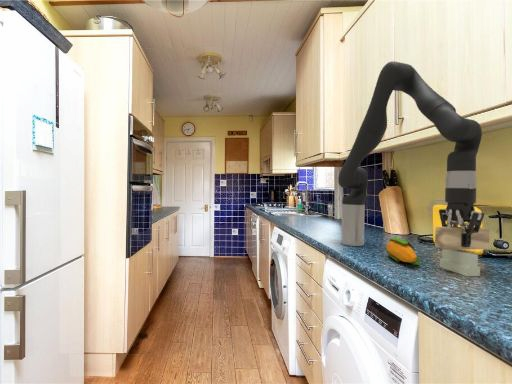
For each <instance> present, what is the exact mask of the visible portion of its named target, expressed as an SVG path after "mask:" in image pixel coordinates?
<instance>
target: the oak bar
mask: <svg viewBox="0 0 512 384" xmlns="http://www.w3.org/2000/svg"><path fill="white" fill-rule="evenodd" d="M466 229H467V226H466ZM434 230H435V231H434V233H435V235H434V236H435V237H434V247H435V248H438V249H441V250H442V249H444V250H461V251H465V250H489V249H490V228H487V227H481V226H480V229H479V232H478V233H472V234H471V245H470V247H462V246H461V236H462V234H463V233H462V230H461V226H458V227H442V226H435V228H434Z"/></svg>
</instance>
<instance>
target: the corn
mask: <svg viewBox="0 0 512 384" xmlns="http://www.w3.org/2000/svg"><path fill="white" fill-rule="evenodd" d="M385 247H386V253H387V254H388V255H389V257H390V258H392V259H393V260H394V261H396V262H399V263H400V261H401V262H404V263H409V264H411V265H413V266H414V265H415V266H416V265H420V264H421V261H420V259H419V257H418V256H417V254H416V252H415V251H414V249H415V248H414V247H413V245H412V244H411V243H410V242H409V241H408V240H406V239H404V238H400V237H392V238H389V241H388V242H387V244H386V246H385Z"/></svg>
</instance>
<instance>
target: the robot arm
mask: <svg viewBox="0 0 512 384" xmlns="http://www.w3.org/2000/svg"><path fill="white" fill-rule="evenodd" d="M394 91H395V92H396V91H397V92H399V91H400V92H402V93H404V94H406V95H408V96H409V97H410V98H412V99H413V101H414V102H415V104H416V107H417V109H418V111H420V113H421V114H422V115H423V116H424V117H425V118H426V119H428V120H429V122H431V123H432V124H433V125H434V127H435V128H436V129H437V131H438V132H439V134H440V135H441V136H442V137H443V138H445V139H446V140H447V141H449V142H452V143H455V145H454V148H453V151H451V152H449V153H448V155H447V158H446V174H445V181H444V182H445V183H444V184H445V188H444V190H445V191H444V202H445V203H446V204H447V205H446V207H445V208H444V209H443V208H441V209H439V210H438V214H439V219H440V222H441V223H440V224H441V227H461V230H462V233H463V234H462V236H461V246H462V247H470V245H471V234H472V233H478V232H479V229H480V227H481V226H482V223H483V219H484V217H485V214H484V213H483V212H478V211H476V210H475V207H474V204H476V203H477V186H478V185H477V171H476V170H477V156H478V155H477V154H478V152H479V148H480V145H481V141H482V138H483V137H482V136H483V135H482V134H483V131H482V125H481V124H480V122H479V121H477V120H474V119H469V118H466V117H463V116H462V115H460V114H459V113H457V109H456V108H455V106H454V105H453V104H452V103H450V102H449V101H448V100H447V99H446V98H444V97H443V96H441V95H440V94H439V93H437V92H436V91H435V90H434V89H433V88H432V87H431V86H430V85H429V84H428V83H427V82H426V81H425V80H424V79H423V78H422V77H421V75H420V74H419V73H418V71H417V70H416V68H414V66H412V65H410V64H408V63H404V62H399V61H393V60H392V61H389V62H387V63H386V64H384V66H383V67H382V68H381V70H380V72H379V75H378V77H377V80H376V84H375V87H374V91H373V94H372V98H371V100H370V102H369V105H368V108H367V110H366V113H365V116H364V117H363V120H362V123H361V125H360V128H359V129H358V133H357V135H356V137H355V140H354V142H353V145H352V147H351V149H350V152H349V154H348V155H347V157H346V159H345V162H344V163H343V164H342V167H341V168H340V171H339V174H338V180H337V181H338V184H339V186H340V187H341V188H343V189H351V191H350V193H349V194H348V195H346V196H344V197H342V200H341V201H342V202H341V233H340V234H341V236H340V239H341V244H342V245H344V246H354V247H361V246H364V245H365V210H366V207H365V204H366V199H367V197H368V196H367V195H368V194H367V193H368V183H369V182H368V181H369V180H368V179H369V176H368V172H367V170H366V169H365V168H363V167H361V166H360V165H361V163H362V162H363V161H364V159H365V158H366V157H367V156H368V155H369V154H371V153H372V152H373V151H374V150H375V149H376V148H377V147H378V146H379V145H380V143H381V141H382V139H383V137H384V135H385V133H386V131H387V128H388V116H387V115H388V114H387V109H388V108H387V107H388V103H389V101H390V98H391V96H392V93H393V92H394ZM466 227H467V229H466Z"/></svg>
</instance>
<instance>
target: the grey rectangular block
mask: <svg viewBox="0 0 512 384" xmlns="http://www.w3.org/2000/svg"><path fill="white" fill-rule="evenodd" d="M478 261H479V255H478V254H477V253H473V252H469V251H465V250H444V249H441V258H439V267H440V268H441V269H445V270H447V271H450V272H453V273H456V274H459V275H463V276H465V277H481V266H478V263H479V262H478Z"/></svg>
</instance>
